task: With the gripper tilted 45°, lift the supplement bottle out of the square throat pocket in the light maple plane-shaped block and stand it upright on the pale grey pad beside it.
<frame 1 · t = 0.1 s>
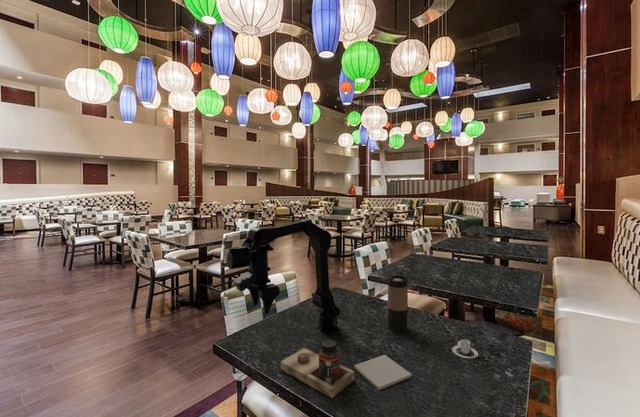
hand: (260, 309, 105), 15 cm above the table, tool pointing down, fingers open, 9 cm apart
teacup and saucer: (473, 352, 104), on the table
travel mug: (397, 328, 121), on the table
grey pad: (382, 372, 93), on the table
plane body: (329, 380, 89), on the table
supplement bottle: (329, 381, 89), resting in plane body
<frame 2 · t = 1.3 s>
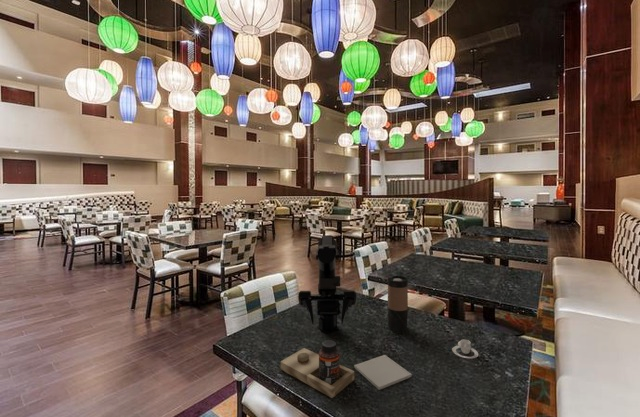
hand: (327, 323, 96), 13 cm above the table, tool tilted 45°, fingers open, 9 cm apart
nothing on the table moved.
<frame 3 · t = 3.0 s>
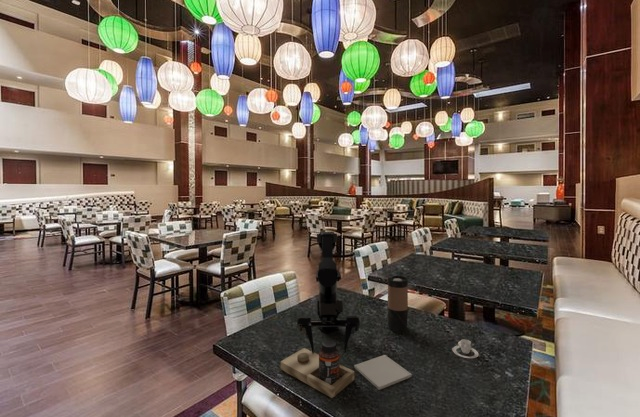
hand: (328, 353, 89), 8 cm above the table, tool tilted 45°, fingers open, 9 cm apart
nothing on the table moved.
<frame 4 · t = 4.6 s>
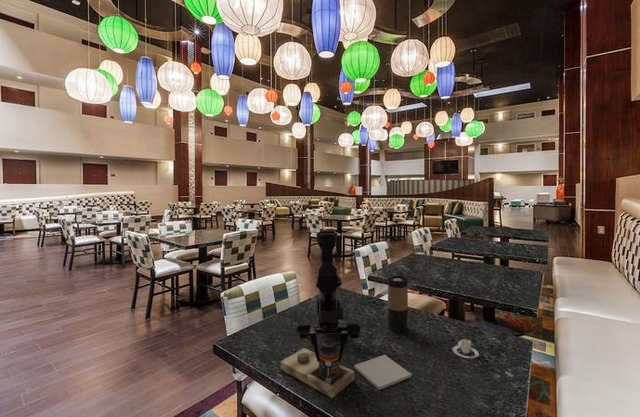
hand: (329, 361, 87), 7 cm above the table, tool tilted 45°, fingers closed on supplement bottle, 6 cm apart
supplement bottle: (329, 381, 89), resting in plane body, touching gripper
everything else where it was.
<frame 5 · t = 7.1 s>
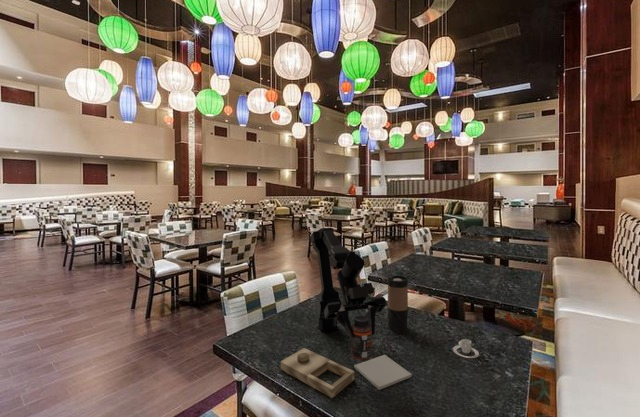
hand: (363, 336, 88), 13 cm above the table, tool tilted 45°, fingers closed on supplement bottle, 6 cm apart
supplement bottle: (361, 356, 90), point 6 cm above the table, touching gripper
everything else where it was.
when the fingers open (9 cm above the table, at t = 9.6 s): supplement bottle drops 1 cm, resting on grey pad.
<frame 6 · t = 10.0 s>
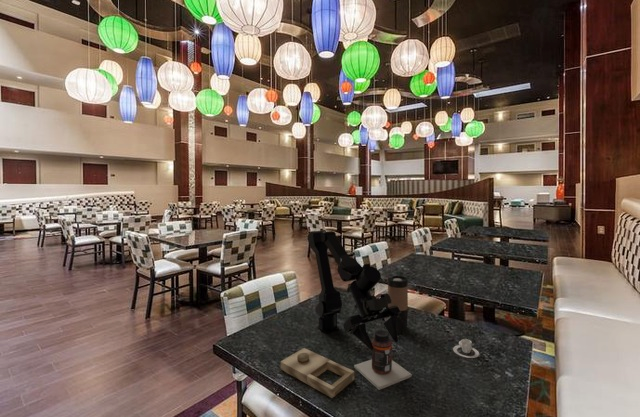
hand: (385, 345, 91), 9 cm above the table, tool tilted 45°, fingers open, 9 cm apart
supplement bottle: (381, 369, 93), point 1 cm above the table, touching grey pad
everything else where it was.
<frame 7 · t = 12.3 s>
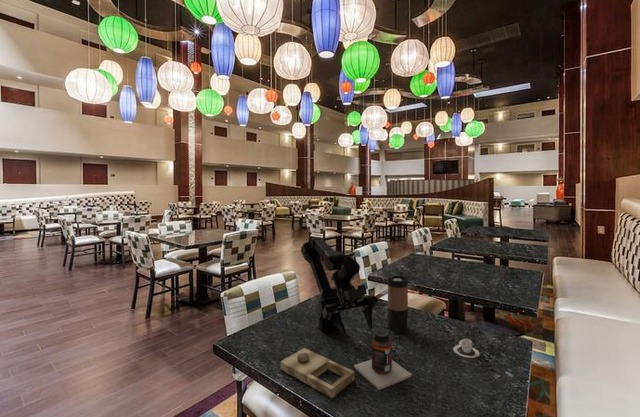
hand: (358, 332, 99), 9 cm above the table, tool tilted 40°, fingers open, 9 cm apart
nothing on the table moved.
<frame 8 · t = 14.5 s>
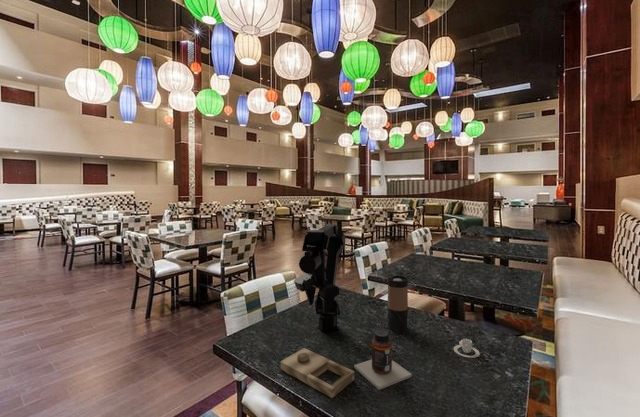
hand: (318, 308, 109), 13 cm above the table, tool pointing down, fingers open, 9 cm apart
nothing on the table moved.
at the end: supplement bottle inside the target area on the grey pad (0.2 cm from its centre), point 0.6 cm above the grey pad's base; supplement bottle tilted 0°; the gripper is holding nothing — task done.
